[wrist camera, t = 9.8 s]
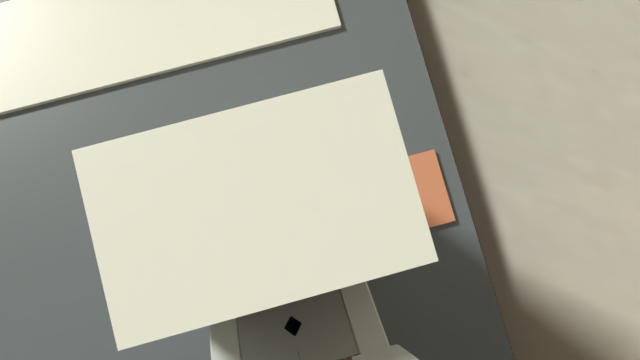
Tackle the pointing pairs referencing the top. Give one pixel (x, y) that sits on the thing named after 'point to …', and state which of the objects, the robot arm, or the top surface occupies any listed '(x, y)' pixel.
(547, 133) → the top surface
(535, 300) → the top surface
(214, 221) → the switch tab
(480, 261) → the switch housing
